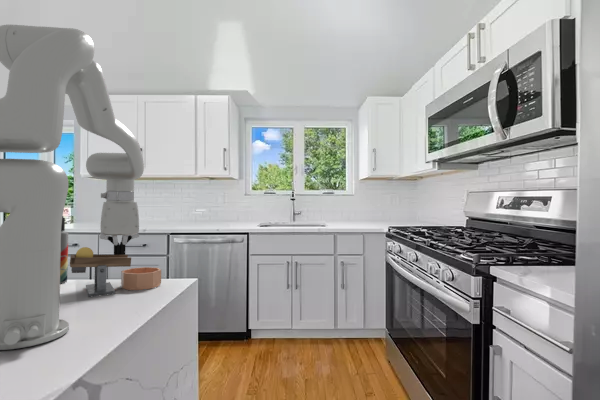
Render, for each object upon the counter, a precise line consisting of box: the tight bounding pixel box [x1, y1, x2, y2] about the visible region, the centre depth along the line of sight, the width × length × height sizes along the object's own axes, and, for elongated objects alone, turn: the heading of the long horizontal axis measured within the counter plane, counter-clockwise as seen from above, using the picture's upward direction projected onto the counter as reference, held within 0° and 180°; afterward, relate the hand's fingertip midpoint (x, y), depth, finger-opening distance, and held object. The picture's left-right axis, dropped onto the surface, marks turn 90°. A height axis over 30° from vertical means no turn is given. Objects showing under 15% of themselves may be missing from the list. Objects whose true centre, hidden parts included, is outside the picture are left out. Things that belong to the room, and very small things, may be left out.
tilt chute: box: [69, 254, 132, 274], centre depth 99 cm, size 15×14×4 cm
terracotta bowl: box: [120, 266, 162, 291], centre depth 102 cm, size 10×10×4 cm
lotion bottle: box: [60, 215, 69, 285], centre depth 104 cm, size 6×6×20 cm
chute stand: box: [85, 265, 116, 298], centre depth 96 cm, size 12×6×8 cm, turn 35°
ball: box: [75, 246, 94, 257], centre depth 94 cm, size 4×4×4 cm
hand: (119, 257), depth 106 cm, fingers closed
